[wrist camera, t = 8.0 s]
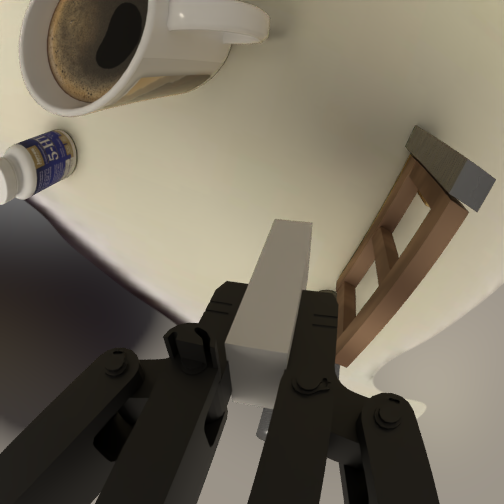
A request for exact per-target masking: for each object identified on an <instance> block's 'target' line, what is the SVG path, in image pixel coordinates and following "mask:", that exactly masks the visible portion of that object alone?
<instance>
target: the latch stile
mask: <svg viewBox="0 0 504 504" xmlns="http://www.w3.org/2000/svg"><path fill="white" fill-rule="evenodd" d="M405 147H406V148H407V149H408V150H409V151H410V152H411V153H412V154H413V155H414V156H415V157H416V158H417V159H418V160H419V161H420V162H421V163H422V164H423V165H424V166H425V167H426V169H427V170H428V171H429V172H430V173H431V174H432V175H433V176H434V177H435V178H436V179H437V181H438V182H439V183H440V184H441V185H442V186H443V187H444V188H445V190H446V191H447V192H448V193H449V194H450V195H452V196H454V197H455V198H457V199H458V200H460V201H461V202H463V203H464V204H466V205H467V206H469V207H470V208H472V209H473V210H475V211H476V212H478V210H479V208H480V207H481V205H482V203H483V202H484V200H485V198H486V196H487V195H488V193H489V191H490V189H491V188H492V186H493V184H494V182H495V180H496V179H494V178H493V177H492V176H491V175H489V174H488V173H487V172H485V171H484V170H483V169H481V168H480V167H479V166H477V165H476V164H474V163H473V162H472V161H470V160H469V159H467V158H466V157H464V156H463V155H462V154H460V153H459V152H457V151H456V150H454V149H453V148H451V147H450V146H448V145H447V144H445V143H444V142H442V141H440V140H439V139H437V138H436V137H434V136H432V135H431V134H429V133H428V132H426V131H424V130H423V129H421V128H419V127H418V126H415V128H414V130H413V132H412V134H411V136H410V138H409V140H408V142H407V144H406V146H405ZM417 192H418V194H419V196H420V197H421V199H422V200H423V202H424V203H425V205H426V206H428V207H429V205H428V203H427V202H426V200H425V199H424V197H423V196H422V194H421V193H420V191H419V190H418V191H417Z"/></svg>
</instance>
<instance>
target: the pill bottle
mask: <svg viewBox="0 0 504 504" xmlns="http://www.w3.org/2000/svg"><path fill="white" fill-rule="evenodd" d="M75 165H76V149H75V145H74V143H73V141H72V139H71V138H70V136H69V135H68V134H67V133H65V132H64V131H62V130H53V131H50V132H47V133H44V134H42V135H39V136H36V137H33V138H30V139H28V140H25V141H22V142H20V143H17V144H15V145H13V146H11V147H9V148H8V149H7V150H6V152H5V153H4V155H3V157H1V158H0V205H2V204H5V203H7V202H9V201H10V200H12V199H13V198H15V197H16V198H18V199H27V198H29V197H31V196H33V195H35V194H36V193H38V192H40V191H42V190H44V189H46V188H47V187H49V186H51V185H53V184H55V183H57V182H59V181H61V180H63V179H64V178H66V177H68V176H69V175H70V174H71V173H72V172H73V170H74V168H75Z"/></svg>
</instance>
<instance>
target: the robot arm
mask: <svg viewBox="0 0 504 504" xmlns="http://www.w3.org/2000/svg"><path fill="white" fill-rule="evenodd" d="M311 235H312V223H310V222H300V221H290V220H279V219H275V220H274V222H273V225H272V227H271V230H270V232H269V235H268V237H267V240H266V242H265V245H264V247H263V250H262V252H261V255H260V257H259V260H258V262H257V265H256V267H255V270H254V272H253V275H252V277H251V279H250V282H249V284H244V283H237V282H230V281H226V282H225V283H224V284H222V285H221V286H220V287H219V288H217V289H216V291H215V293H214V294H213V296H212V298H211V300H210V303H209V304H208V306H207V308H206V311H205V312H204V314H203V316H202V318H201V319H200V321H199V323H184V324H180V325H177V326H175V327H173V328H172V329H170V330H169V331H168V332H167V333H166V334H165V335H164V336H163V338H164V341H165V344H166V348H167V351H168V353H169V358H166V359H159V360H158V359H156V360H139V359H138V357H137V355H136V354H135V353H134V352H133V351H132V350H129V349H126V348H114V349H111V350H107V351H106V352H105V353H104V354H102V355H100V356H99V357H98V358H97V359H96V360H95V361H94V362H93V363H92V364H91V365H90V366H89V367H88V368H87V369H86V370H85V371H83V372H82V373H81V374H80V375H79V376H78V377H77V378H76V379H75V380H74V381H73V382H72V383H71V384H70V385H69V386H68V387H67V388H66V389H65V390H64V391H63V392H62V393H61V394H60V395H59V396H58V397H57V398H56V399H55V400H54V401H53V402H51V403H50V404H49V406H47V407H46V408H45V409H44V410H43V411H42V412H41V413H40V414H39V415H38V416H37V417H36V418H35V419H34V420H33V421H32V422H31V423H30V424H29V425H28V426H27V427H26V428H25V429H24V430H23V431H22V432H21V433H20V434H19V435H18V436H17V437H16V438H15V439H14V440H13V441H12V442H11V444H9V446H7V448H6V449H5V450H4V451H3V452H2V453H1V454H0V504H91V502H92V501H93V500H94V499H95V498H96V497H97V496H98V495H99V497H98V499H97V501H96V503H95V504H196V503H197V501H198V498H199V495H200V493H201V490H202V487H203V484H204V482H205V479H206V476H207V474H208V471H209V468H210V465H211V462H212V460H213V457H214V454H215V451H216V448H217V445H218V442H219V439H220V437H221V434H222V431H223V428H224V425H225V422H226V420H227V413H228V410H227V404H228V402H229V399H230V396H231V395H232V401H233V402H237V403H243V404H248V405H252V406H258V407H263V408H269V409H273V412H272V416H271V420H270V424H269V428H268V432H267V436H266V439H265V443H264V447H263V451H262V454H261V458H260V461H259V465H258V469H257V472H256V476H255V479H254V483H253V486H252V490H251V493H250V496H249V500H248V503H247V504H319V501H320V495H321V490H322V484H323V478H324V472H325V466H326V459H327V458H329V459H332V460H334V461H337V462H339V468H340V475H341V482H342V489H343V496H344V504H439V500H438V496H437V491H436V488H435V483H434V479H433V475H432V471H431V468H430V464H429V460H428V457H427V453H426V450H425V446H424V443H423V440H422V436H421V433H420V430H419V426H418V423H417V420H416V417H415V414H414V411H413V409H412V407H411V405H410V404H409V402H408V401H406V400H405V399H404V398H403V397H401V396H399V395H396V394H393V393H380V394H377V395H375V396H372V397H371V398H367V397H365V396H362V395H359V394H357V393H354V392H352V391H351V390H349V389H347V388H346V387H345V386H343V385H342V384H341V382H340V381H339V380H338V378H337V376H336V373H335V356H336V342H337V327H338V307H339V304H338V302H337V301H336V299H335V297H334V295H333V293H325V292H317V291H308V290H306V286H307V280H308V270H309V259H310V247H311ZM99 493H100V494H99Z"/></svg>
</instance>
